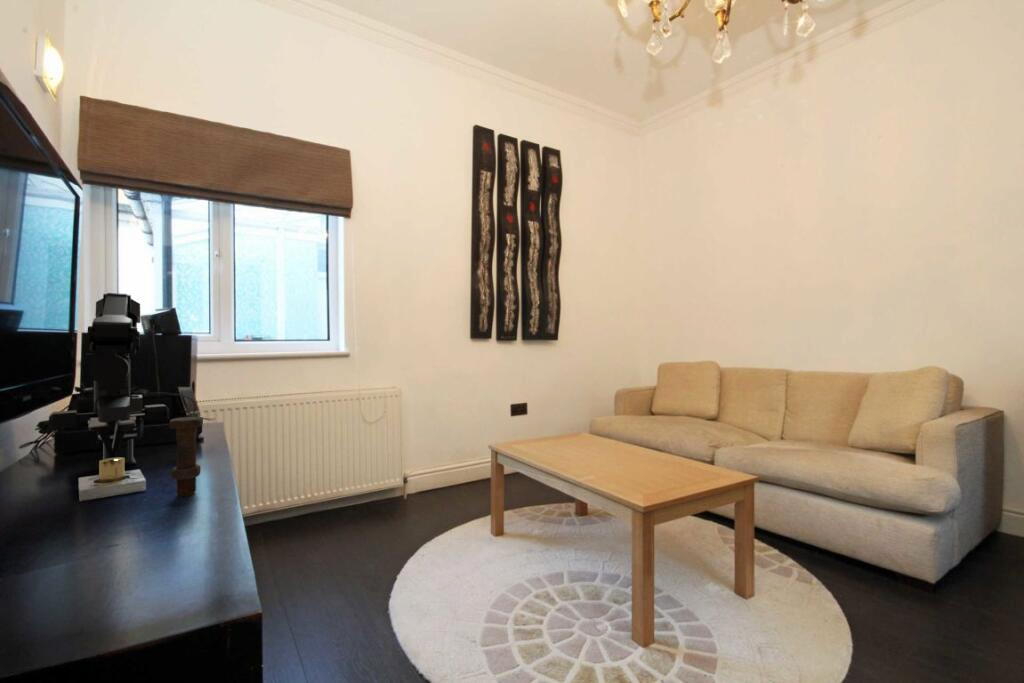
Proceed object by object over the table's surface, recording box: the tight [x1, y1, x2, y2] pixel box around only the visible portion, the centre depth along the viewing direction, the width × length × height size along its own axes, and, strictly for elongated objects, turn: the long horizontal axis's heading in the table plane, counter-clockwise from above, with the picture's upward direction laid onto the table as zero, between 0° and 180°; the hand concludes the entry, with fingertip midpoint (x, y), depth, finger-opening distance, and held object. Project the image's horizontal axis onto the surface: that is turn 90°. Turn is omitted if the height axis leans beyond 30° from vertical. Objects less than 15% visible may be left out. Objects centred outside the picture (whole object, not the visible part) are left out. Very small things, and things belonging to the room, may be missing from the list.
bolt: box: [168, 416, 204, 497], centre depth 94 cm, size 6×5×15 cm
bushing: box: [98, 458, 126, 483], centre depth 98 cm, size 4×4×6 cm
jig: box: [78, 468, 147, 502], centre depth 98 cm, size 12×10×2 cm
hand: (112, 457), depth 98 cm, fingers closed
